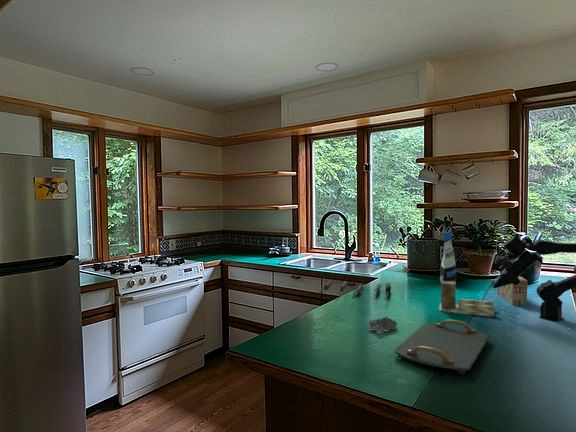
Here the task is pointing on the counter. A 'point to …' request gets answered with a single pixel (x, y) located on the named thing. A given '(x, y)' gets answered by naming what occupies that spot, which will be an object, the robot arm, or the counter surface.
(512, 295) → the stack of blocks
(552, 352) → the counter surface
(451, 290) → the walnut block
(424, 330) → the serving board
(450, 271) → the protein powder
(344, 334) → the counter surface
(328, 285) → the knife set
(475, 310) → the chute
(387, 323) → the bumpy grey rock
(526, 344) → the counter surface
